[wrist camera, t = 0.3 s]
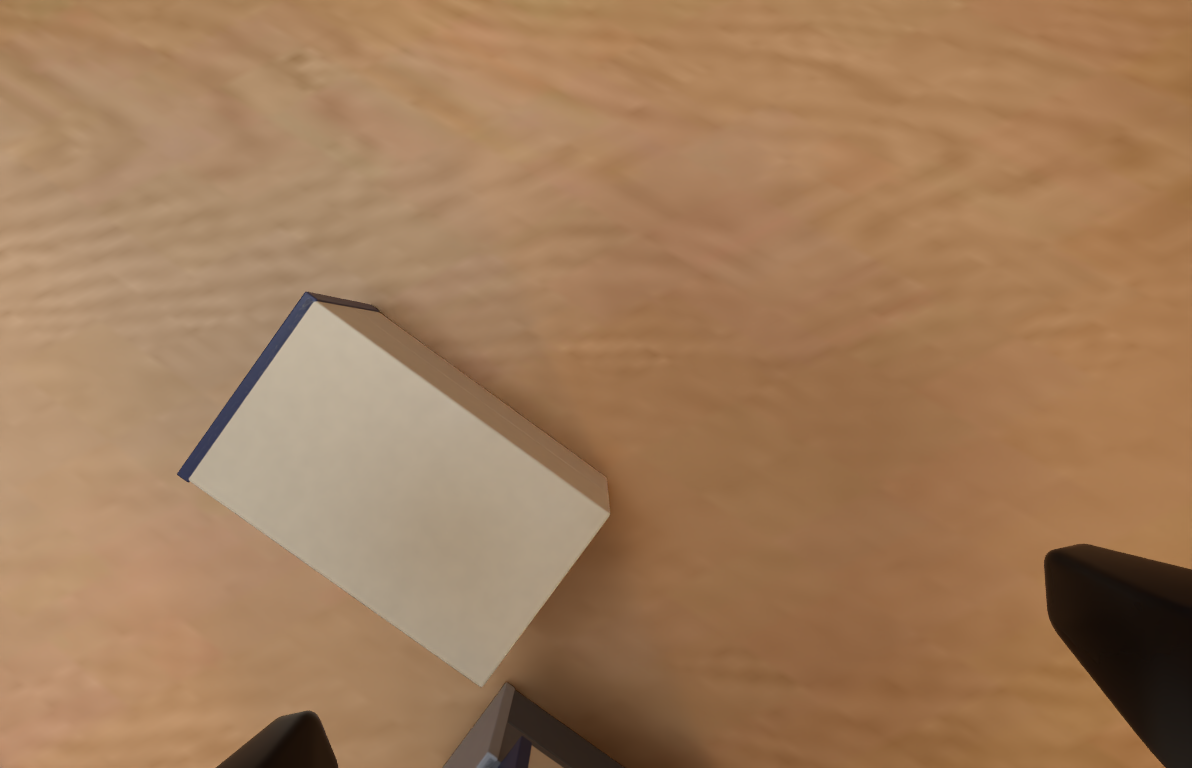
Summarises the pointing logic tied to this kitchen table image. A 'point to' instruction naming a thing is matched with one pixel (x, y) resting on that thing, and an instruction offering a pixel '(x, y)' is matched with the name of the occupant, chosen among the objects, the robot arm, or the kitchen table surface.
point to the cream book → (527, 757)
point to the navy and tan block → (401, 481)
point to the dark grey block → (520, 717)
